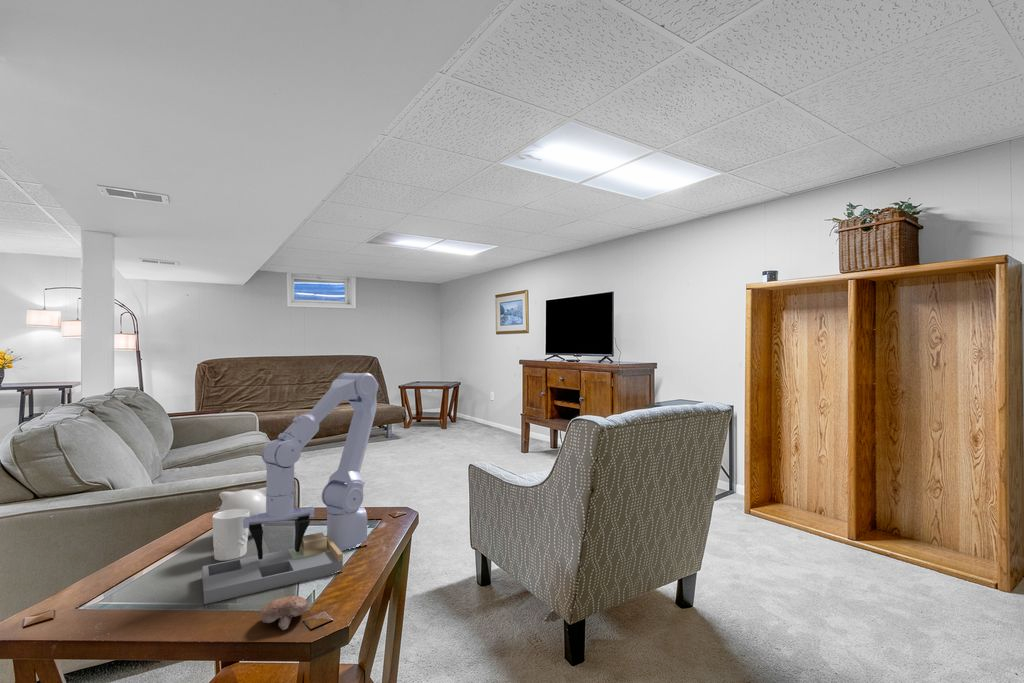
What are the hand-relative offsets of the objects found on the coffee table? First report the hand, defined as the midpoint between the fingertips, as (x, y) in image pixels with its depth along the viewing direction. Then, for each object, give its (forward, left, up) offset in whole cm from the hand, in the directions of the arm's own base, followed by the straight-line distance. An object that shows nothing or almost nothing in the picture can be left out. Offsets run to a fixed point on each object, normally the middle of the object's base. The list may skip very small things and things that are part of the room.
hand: (278, 554), depth 110 cm
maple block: (-7, 0, -1) cm, 7 cm away
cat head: (+4, -28, -3) cm, 29 cm away
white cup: (+8, -15, -3) cm, 18 cm away
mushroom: (+3, +25, -4) cm, 26 cm away
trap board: (+1, +3, -3) cm, 5 cm away
